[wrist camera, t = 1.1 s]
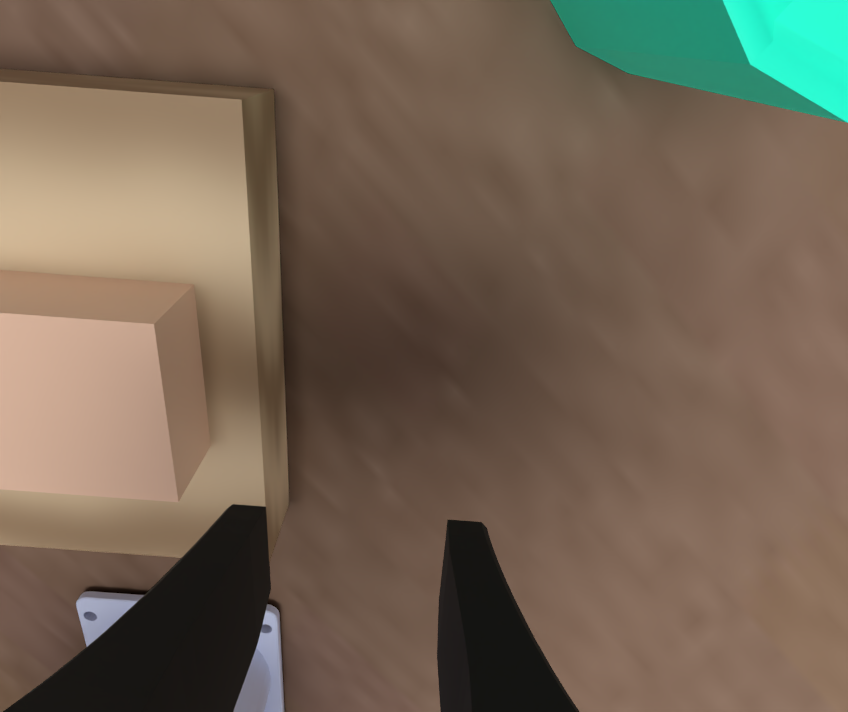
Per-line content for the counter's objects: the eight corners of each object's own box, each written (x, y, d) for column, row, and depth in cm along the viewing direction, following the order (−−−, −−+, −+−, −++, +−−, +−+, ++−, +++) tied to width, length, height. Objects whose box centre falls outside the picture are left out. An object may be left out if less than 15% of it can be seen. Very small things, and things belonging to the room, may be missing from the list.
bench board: (289, 503, 23) (268, 564, 21) (-95, 475, 23) (-165, 532, 20) (273, 89, 17) (241, 99, 14) (-255, 49, 17) (-386, 52, 14)
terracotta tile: (210, 445, 18) (178, 502, 16) (39, 433, 18) (-17, 488, 16) (194, 283, 16) (153, 323, 14) (-2, 269, 16) (-73, 307, 14)
